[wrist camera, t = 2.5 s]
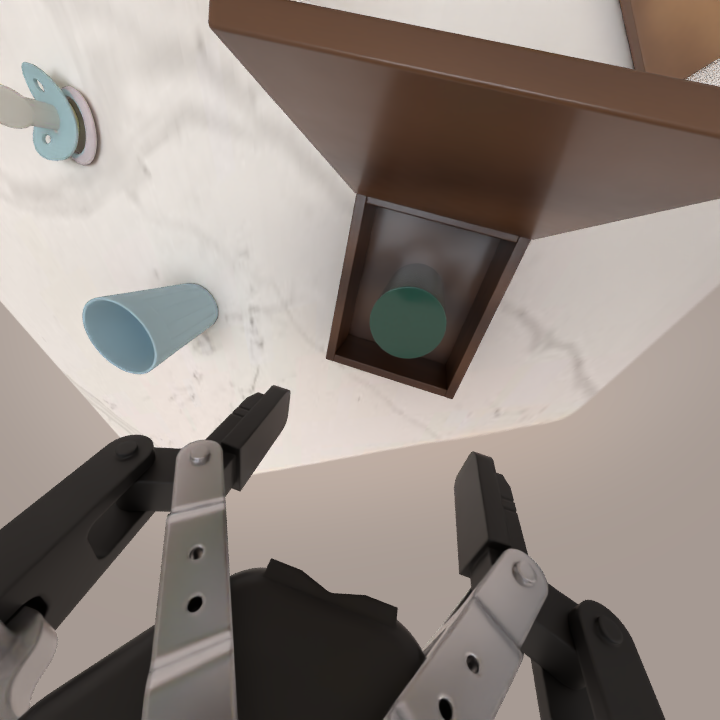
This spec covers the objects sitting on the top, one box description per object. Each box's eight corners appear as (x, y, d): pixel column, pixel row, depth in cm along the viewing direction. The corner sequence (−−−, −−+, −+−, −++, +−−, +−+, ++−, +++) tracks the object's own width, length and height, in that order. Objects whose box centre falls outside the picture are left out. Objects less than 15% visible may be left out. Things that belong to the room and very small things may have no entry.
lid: (865, 168, 5) (901, 119, 5) (206, 26, 6) (208, -19, 6) (533, 240, 19) (538, 228, 19) (354, 193, 21) (357, 182, 20)
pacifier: (100, 95, 27) (41, 63, 27) (20, 69, 22) (-55, 30, 22) (104, 178, 31) (52, 151, 31) (36, 174, 26) (-28, 141, 26)
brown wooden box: (450, 369, 32) (452, 399, 27) (342, 335, 33) (325, 358, 28) (514, 228, 25) (534, 234, 20) (372, 191, 26) (357, 188, 21)
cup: (235, 333, 36) (168, 375, 27) (185, 335, 38) (109, 374, 29) (214, 271, 33) (131, 295, 24) (161, 277, 35) (66, 301, 26)
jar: (428, 251, 26) (424, 271, 18) (453, 303, 28) (459, 340, 20) (377, 281, 28) (355, 309, 21) (403, 327, 30) (392, 369, 22)
